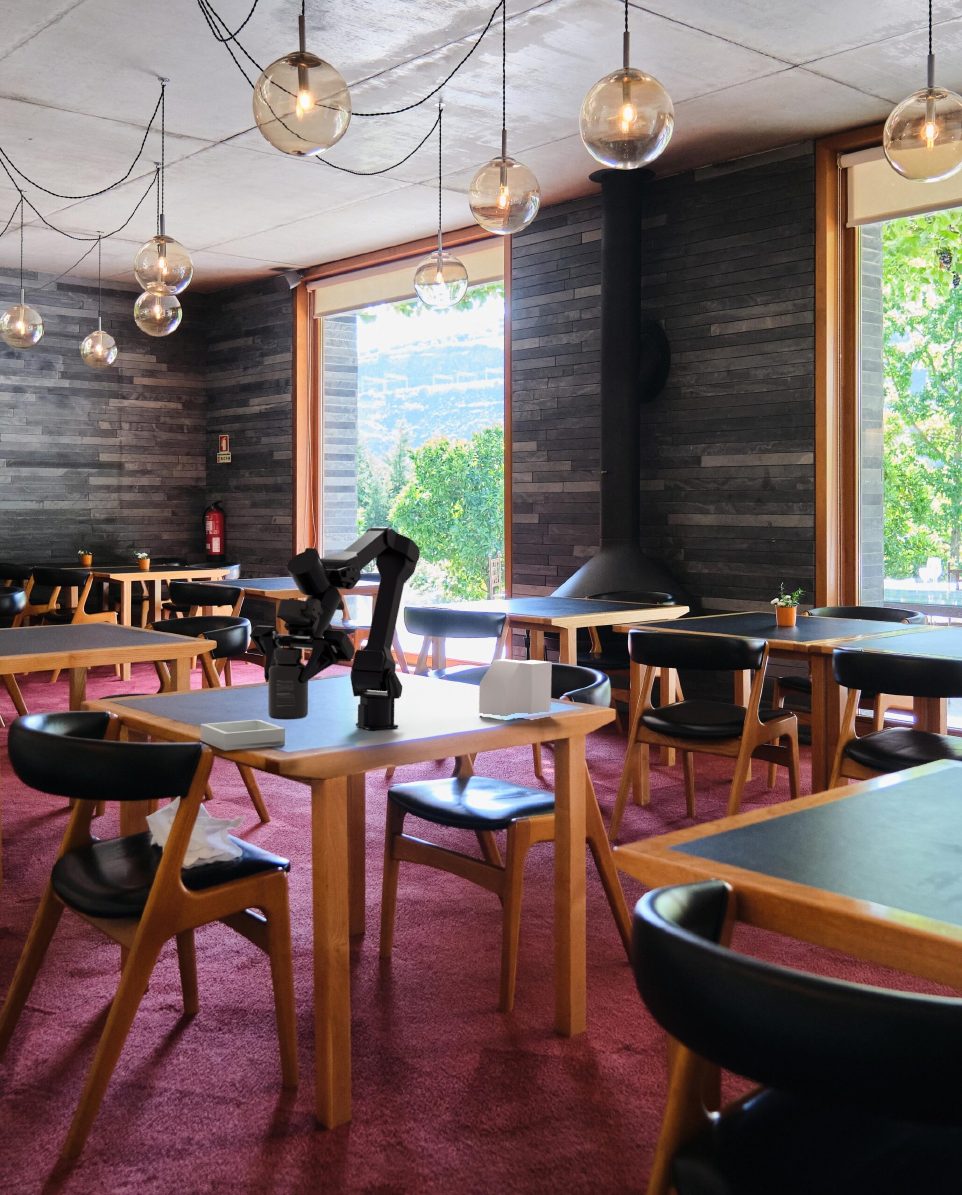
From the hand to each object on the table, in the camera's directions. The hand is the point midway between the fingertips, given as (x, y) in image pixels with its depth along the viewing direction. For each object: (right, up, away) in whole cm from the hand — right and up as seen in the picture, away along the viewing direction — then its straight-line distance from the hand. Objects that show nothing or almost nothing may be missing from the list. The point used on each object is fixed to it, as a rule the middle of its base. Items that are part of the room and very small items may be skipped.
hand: (283, 680), depth 196 cm
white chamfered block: (+41, -12, +50) cm, 66 cm away
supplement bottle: (0, -7, +2) cm, 7 cm away
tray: (-10, -12, +13) cm, 21 cm away
